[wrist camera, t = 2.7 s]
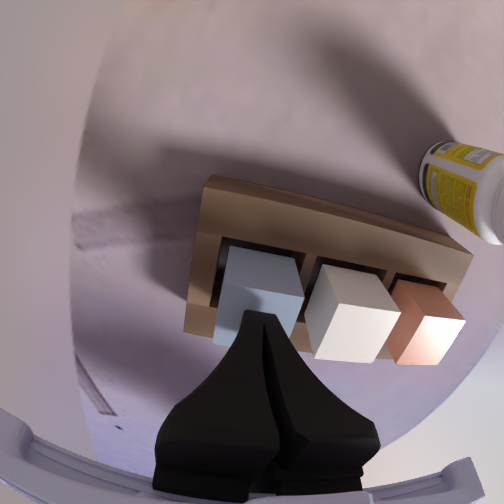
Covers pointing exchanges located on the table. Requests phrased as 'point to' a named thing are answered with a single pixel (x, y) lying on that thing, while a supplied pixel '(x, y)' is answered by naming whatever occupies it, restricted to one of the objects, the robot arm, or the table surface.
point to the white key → (349, 315)
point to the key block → (311, 246)
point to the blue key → (257, 291)
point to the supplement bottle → (466, 187)
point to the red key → (422, 324)
